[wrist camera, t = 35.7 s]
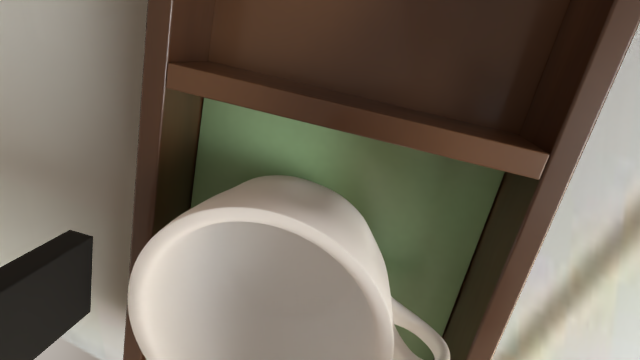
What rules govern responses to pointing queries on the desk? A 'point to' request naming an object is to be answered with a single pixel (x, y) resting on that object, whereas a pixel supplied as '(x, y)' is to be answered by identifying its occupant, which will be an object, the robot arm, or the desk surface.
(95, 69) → the desk surface
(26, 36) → the desk surface
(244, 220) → the teacup
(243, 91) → the wooden compartment tray
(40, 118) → the desk surface
